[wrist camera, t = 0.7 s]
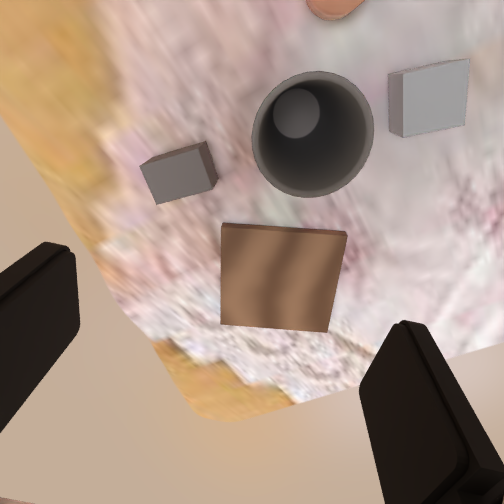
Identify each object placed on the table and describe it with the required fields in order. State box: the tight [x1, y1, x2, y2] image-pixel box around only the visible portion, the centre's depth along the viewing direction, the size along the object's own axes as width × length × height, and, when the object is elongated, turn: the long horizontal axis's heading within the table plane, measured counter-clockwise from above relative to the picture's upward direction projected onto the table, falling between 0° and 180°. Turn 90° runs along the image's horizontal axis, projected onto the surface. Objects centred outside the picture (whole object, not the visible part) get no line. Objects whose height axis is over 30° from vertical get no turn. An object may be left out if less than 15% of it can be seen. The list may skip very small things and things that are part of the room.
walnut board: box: [220, 223, 347, 333], centre depth 40 cm, size 14×14×1 cm
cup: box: [252, 71, 374, 198], centre depth 25 cm, size 7×7×15 cm
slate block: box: [388, 59, 470, 138], centre depth 29 cm, size 5×5×4 cm
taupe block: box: [139, 141, 219, 205], centre depth 33 cm, size 6×4×4 cm, turn 106°
